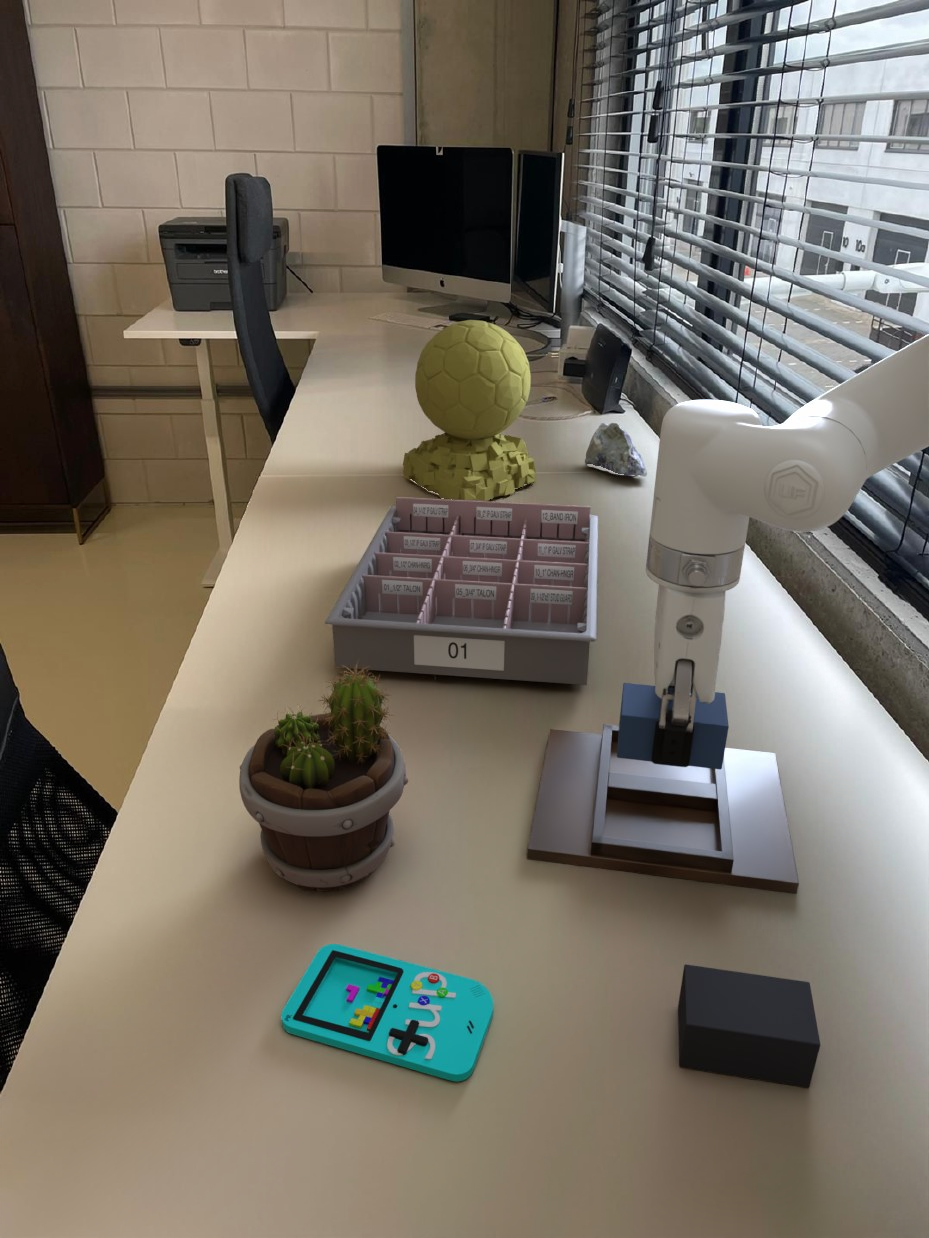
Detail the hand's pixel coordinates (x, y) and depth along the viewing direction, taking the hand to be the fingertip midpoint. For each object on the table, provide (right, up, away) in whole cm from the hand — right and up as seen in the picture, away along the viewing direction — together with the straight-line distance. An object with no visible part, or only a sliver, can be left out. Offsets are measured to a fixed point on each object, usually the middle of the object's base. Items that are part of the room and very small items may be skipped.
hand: (669, 741), depth 85 cm
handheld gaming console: (-24, -19, -13) cm, 33 cm away
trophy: (-17, +37, +97) cm, 105 cm away
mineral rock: (+11, +39, +101) cm, 109 cm away
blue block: (0, 0, 0) cm, 0 cm away
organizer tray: (-17, +11, +47) cm, 51 cm away
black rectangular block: (+2, -20, -15) cm, 25 cm away
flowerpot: (-31, -11, +3) cm, 33 cm away
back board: (+1, -8, +10) cm, 12 cm away
